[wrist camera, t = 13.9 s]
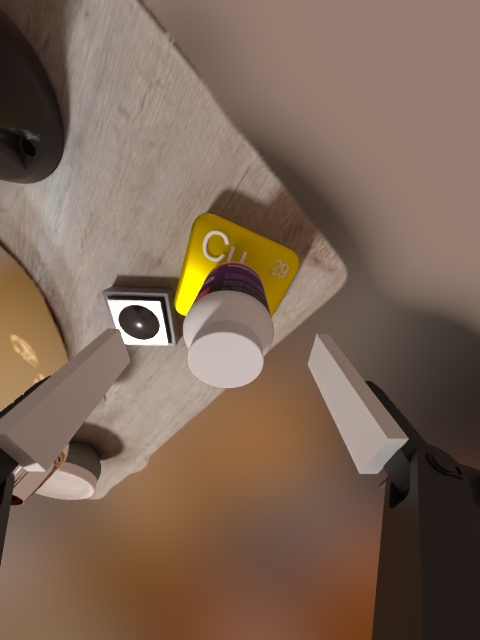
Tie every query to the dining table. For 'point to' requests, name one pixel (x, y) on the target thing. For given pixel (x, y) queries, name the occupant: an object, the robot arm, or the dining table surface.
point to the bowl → (74, 475)
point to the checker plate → (141, 319)
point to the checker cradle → (149, 293)
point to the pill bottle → (229, 327)
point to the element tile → (233, 259)
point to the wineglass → (35, 477)
